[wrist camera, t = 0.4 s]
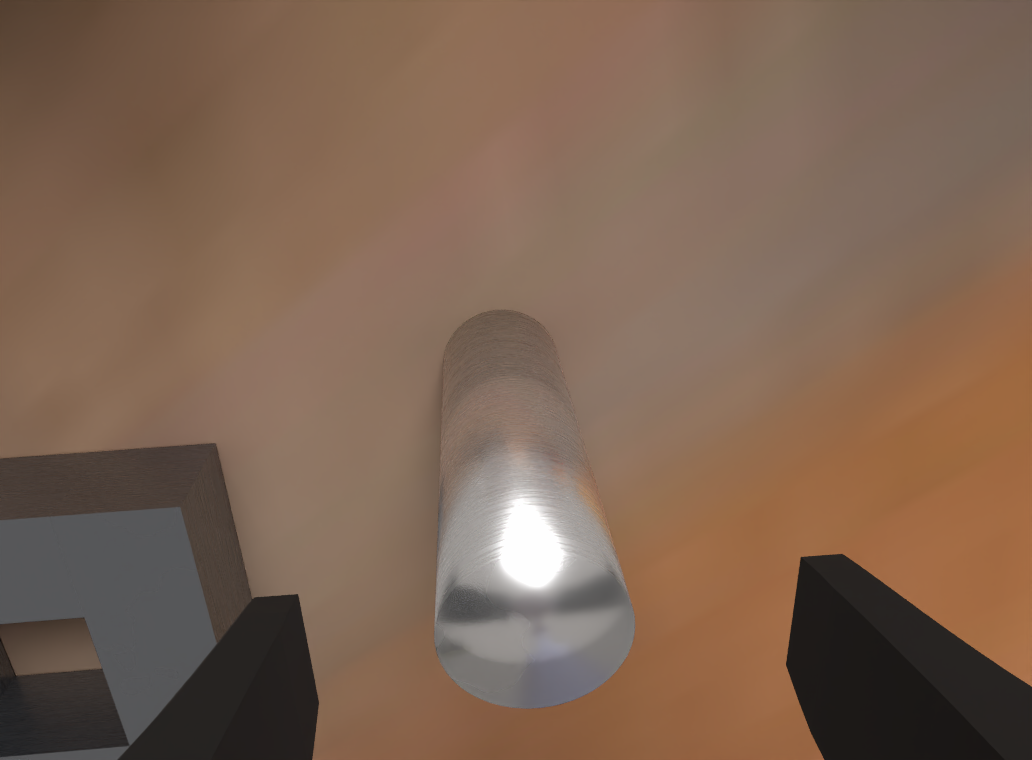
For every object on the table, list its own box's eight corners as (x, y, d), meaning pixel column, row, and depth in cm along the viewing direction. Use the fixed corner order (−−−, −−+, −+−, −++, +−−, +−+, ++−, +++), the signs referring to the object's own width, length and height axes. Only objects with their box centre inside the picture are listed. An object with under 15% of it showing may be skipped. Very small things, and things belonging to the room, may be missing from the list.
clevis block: (281, 725, 26) (261, 810, 23) (-52, 754, 25) (-113, 844, 23) (215, 443, 21) (180, 506, 19) (-192, 472, 21) (-288, 541, 18)
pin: (559, 410, 22) (633, 699, 13) (448, 418, 21) (443, 716, 12) (556, 306, 20) (637, 544, 11) (439, 313, 20) (425, 561, 11)
